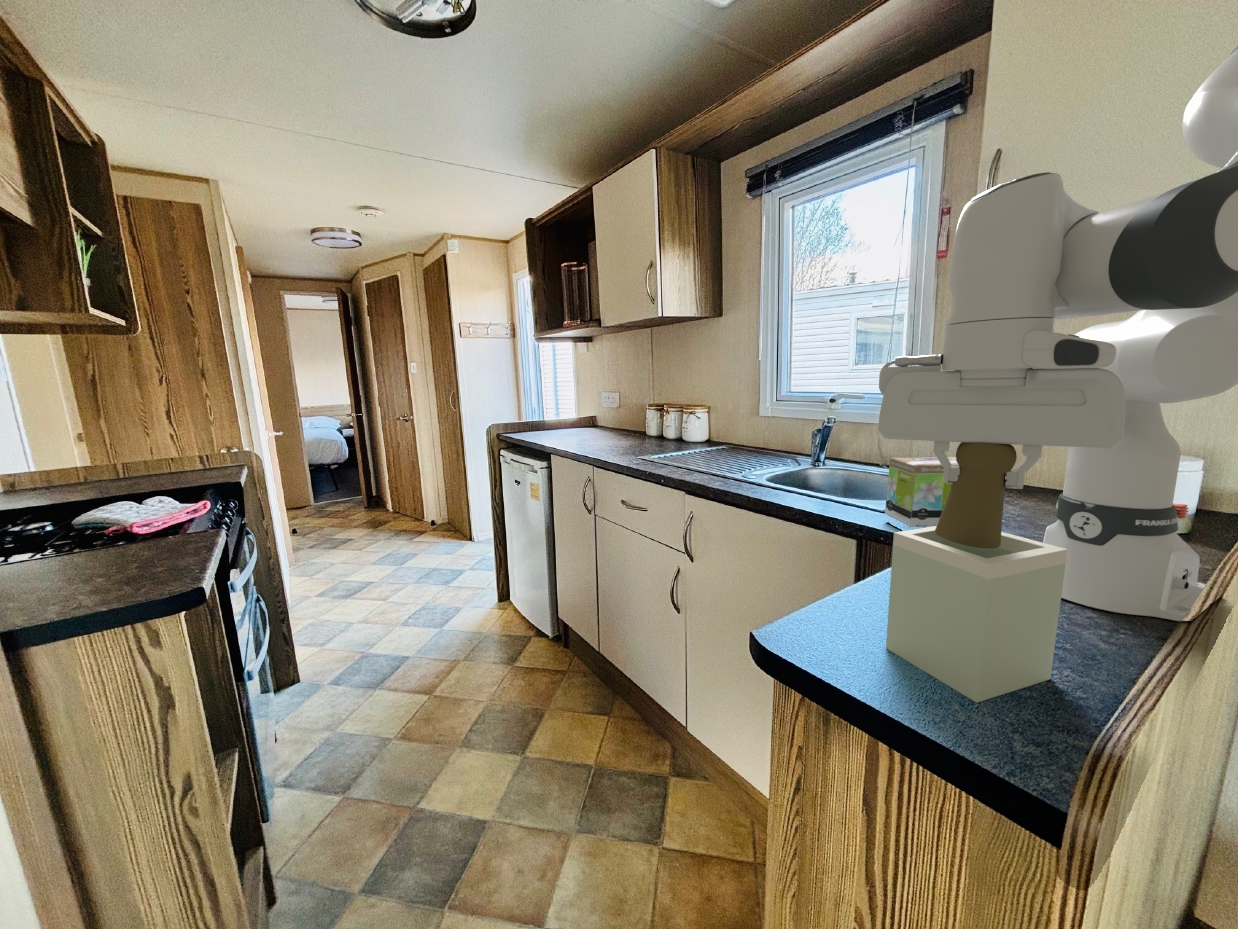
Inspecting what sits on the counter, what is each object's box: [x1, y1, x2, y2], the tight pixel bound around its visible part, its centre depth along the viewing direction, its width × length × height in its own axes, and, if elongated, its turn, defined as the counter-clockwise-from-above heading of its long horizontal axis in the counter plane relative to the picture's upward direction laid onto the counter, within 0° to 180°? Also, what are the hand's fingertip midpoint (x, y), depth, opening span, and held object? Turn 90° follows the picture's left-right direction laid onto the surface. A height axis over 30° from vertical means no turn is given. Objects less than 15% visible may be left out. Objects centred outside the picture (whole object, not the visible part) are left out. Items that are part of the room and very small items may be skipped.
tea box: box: [884, 456, 959, 528], centre depth 105 cm, size 15×10×15 cm, turn 91°
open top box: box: [885, 526, 1068, 704], centre depth 56 cm, size 11×11×14 cm
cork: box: [935, 442, 1017, 549], centre depth 54 cm, size 6×6×11 cm
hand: (981, 484), depth 53 cm, fingers closed on cork, 4 cm apart
